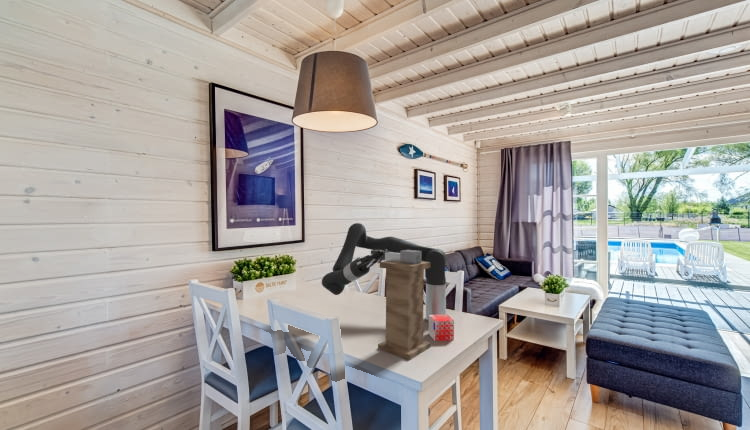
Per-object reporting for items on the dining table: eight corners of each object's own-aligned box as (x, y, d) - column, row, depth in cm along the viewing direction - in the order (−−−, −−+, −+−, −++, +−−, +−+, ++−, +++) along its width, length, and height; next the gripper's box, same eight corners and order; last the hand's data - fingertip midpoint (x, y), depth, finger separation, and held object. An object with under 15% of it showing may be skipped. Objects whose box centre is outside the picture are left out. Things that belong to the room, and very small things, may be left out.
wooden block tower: (399, 337, 129) (400, 258, 129) (430, 347, 120) (431, 262, 120) (377, 348, 118) (378, 262, 118) (409, 359, 109) (410, 266, 109)
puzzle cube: (453, 340, 127) (454, 320, 127) (434, 341, 126) (435, 321, 126) (446, 332, 135) (446, 314, 135) (428, 333, 134) (428, 314, 134)
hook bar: (377, 257, 131) (377, 246, 131) (421, 263, 118) (421, 251, 117) (369, 258, 127) (369, 247, 127) (414, 264, 114) (414, 252, 114)
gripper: (341, 263, 131) (369, 244, 121) (364, 259, 142) (391, 242, 132) (347, 280, 128) (376, 262, 119) (370, 275, 139) (398, 258, 130)
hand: (384, 252), depth 126 cm, fingers closed on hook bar, 3 cm apart
